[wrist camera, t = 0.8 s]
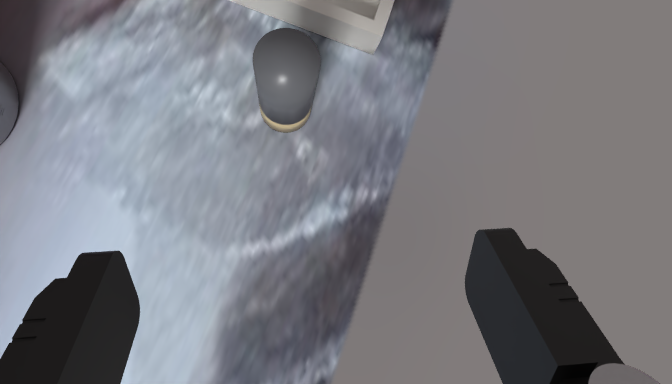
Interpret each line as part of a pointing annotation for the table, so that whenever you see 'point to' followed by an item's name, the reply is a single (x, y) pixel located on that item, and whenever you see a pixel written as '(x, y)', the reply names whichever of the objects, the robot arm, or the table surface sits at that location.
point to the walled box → (332, 18)
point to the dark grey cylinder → (286, 77)
